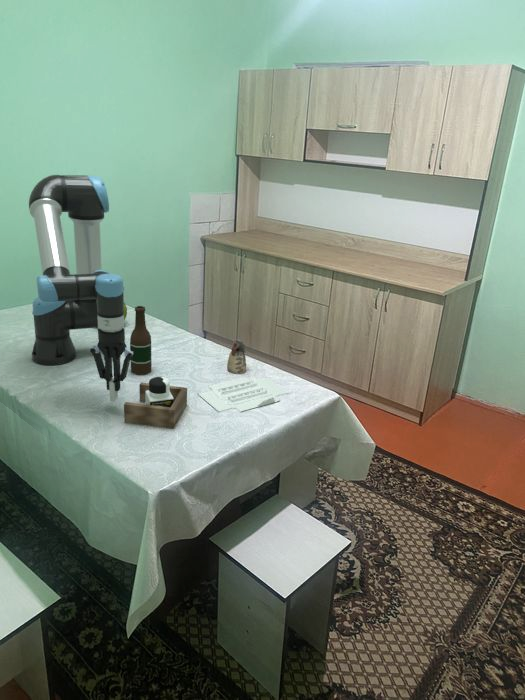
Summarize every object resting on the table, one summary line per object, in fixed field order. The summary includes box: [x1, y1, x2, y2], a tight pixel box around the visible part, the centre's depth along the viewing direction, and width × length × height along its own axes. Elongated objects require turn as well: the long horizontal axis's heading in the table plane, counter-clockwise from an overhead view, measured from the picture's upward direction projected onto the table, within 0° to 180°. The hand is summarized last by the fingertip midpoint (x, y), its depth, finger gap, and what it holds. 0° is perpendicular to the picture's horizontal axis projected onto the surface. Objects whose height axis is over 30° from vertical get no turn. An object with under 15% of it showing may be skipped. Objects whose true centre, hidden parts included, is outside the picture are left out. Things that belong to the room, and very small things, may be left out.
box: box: [123, 382, 188, 429], centre depth 163 cm, size 15×15×6 cm
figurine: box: [226, 339, 247, 375], centre depth 195 cm, size 7×7×12 cm
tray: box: [197, 376, 289, 413], centre depth 179 cm, size 20×28×4 cm
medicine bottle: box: [145, 376, 174, 407], centre depth 161 cm, size 7×7×12 cm
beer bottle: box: [129, 305, 152, 376], centre depth 186 cm, size 8×8×24 cm
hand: (114, 399), depth 164 cm, fingers closed
